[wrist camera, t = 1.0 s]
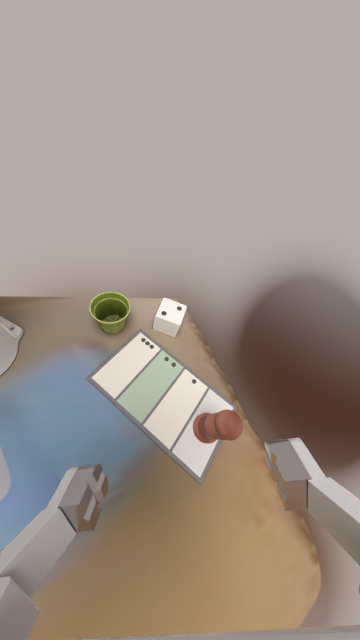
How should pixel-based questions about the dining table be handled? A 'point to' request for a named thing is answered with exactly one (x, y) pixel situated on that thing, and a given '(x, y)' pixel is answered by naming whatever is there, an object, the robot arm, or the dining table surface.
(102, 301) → the plant pot
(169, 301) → the die
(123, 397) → the game board
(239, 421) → the pawn
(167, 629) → the dining table surface
